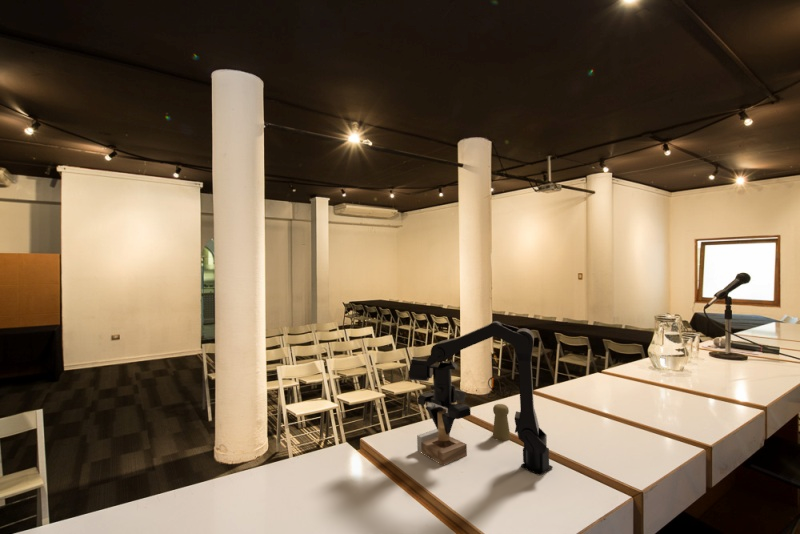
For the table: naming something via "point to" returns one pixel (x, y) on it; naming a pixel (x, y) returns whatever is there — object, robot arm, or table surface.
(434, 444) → the socket block
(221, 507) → the table surface
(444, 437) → the dowel
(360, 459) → the table surface
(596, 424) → the table surface
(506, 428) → the cork
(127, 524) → the table surface
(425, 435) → the wall
